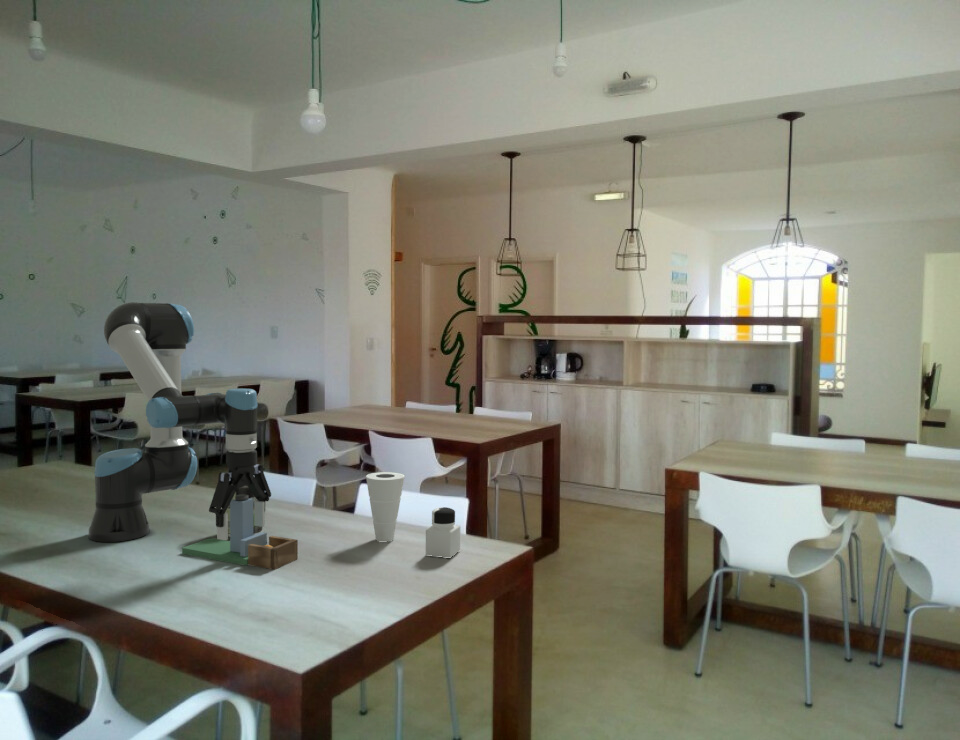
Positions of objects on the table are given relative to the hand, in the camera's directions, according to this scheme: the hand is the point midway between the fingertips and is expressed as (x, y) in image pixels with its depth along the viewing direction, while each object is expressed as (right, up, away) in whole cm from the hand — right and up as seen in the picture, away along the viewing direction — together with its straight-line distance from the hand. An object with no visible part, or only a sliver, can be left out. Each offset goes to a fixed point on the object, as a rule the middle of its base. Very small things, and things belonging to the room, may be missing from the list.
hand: (241, 532), depth 187 cm
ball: (+7, -5, -3) cm, 9 cm away
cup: (+34, -6, +17) cm, 39 cm away
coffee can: (-6, -5, +22) cm, 23 cm away
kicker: (+1, -5, 0) cm, 5 cm away
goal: (+9, -7, -4) cm, 12 cm away
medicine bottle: (+51, -7, +6) cm, 52 cm away
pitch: (-4, -6, +2) cm, 8 cm away
